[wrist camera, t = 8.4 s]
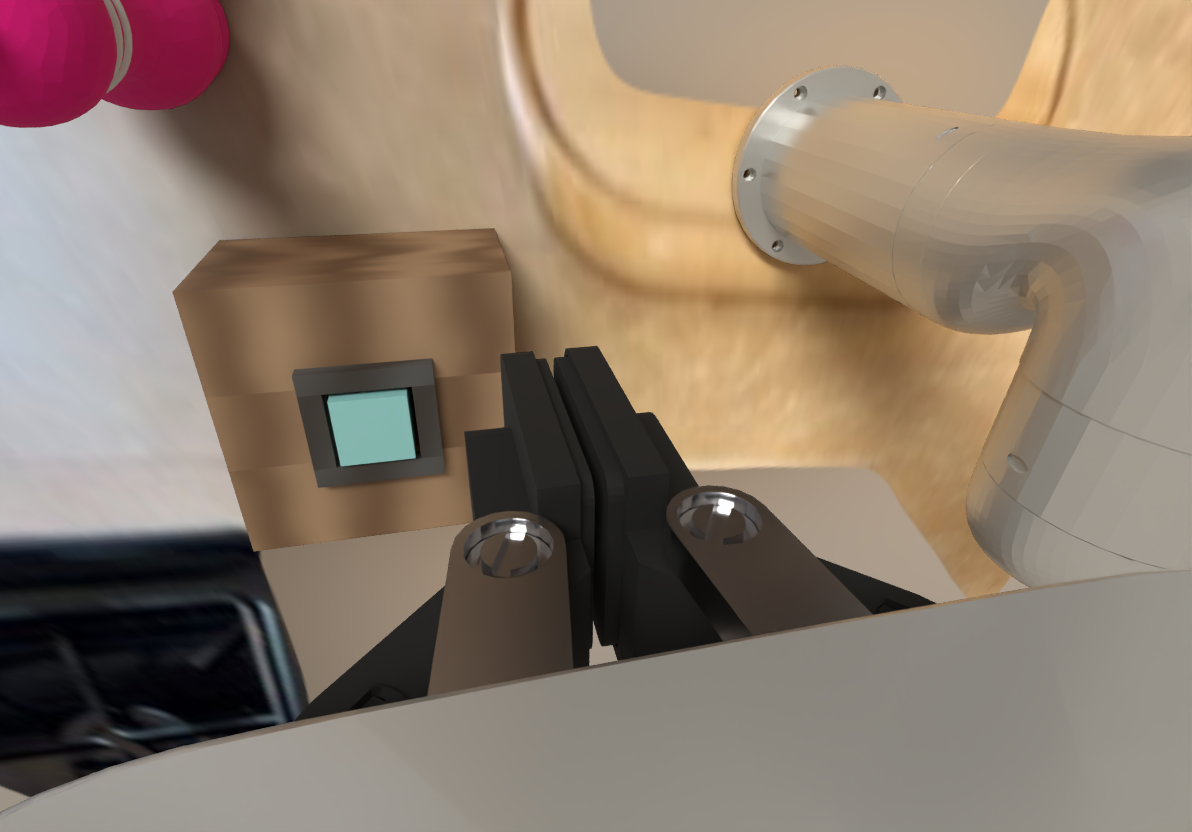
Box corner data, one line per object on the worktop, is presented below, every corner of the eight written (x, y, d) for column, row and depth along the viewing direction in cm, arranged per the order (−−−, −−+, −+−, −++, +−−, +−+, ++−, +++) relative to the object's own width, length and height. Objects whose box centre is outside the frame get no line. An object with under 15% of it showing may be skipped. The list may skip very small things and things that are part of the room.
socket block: (494, 228, 43) (513, 277, 34) (507, 442, 51) (525, 523, 42) (219, 240, 39) (167, 297, 31) (279, 467, 47) (250, 560, 39)
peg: (408, 326, 44) (406, 395, 36) (415, 380, 46) (415, 458, 38) (344, 330, 43) (327, 402, 35) (354, 385, 45) (340, 466, 37)
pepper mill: (217, -65, 33) (8, -160, 16) (257, 98, 36) (121, 163, 20) (49, -66, 31) (-374, -172, 14) (108, 104, 35) (-176, 177, 18)
